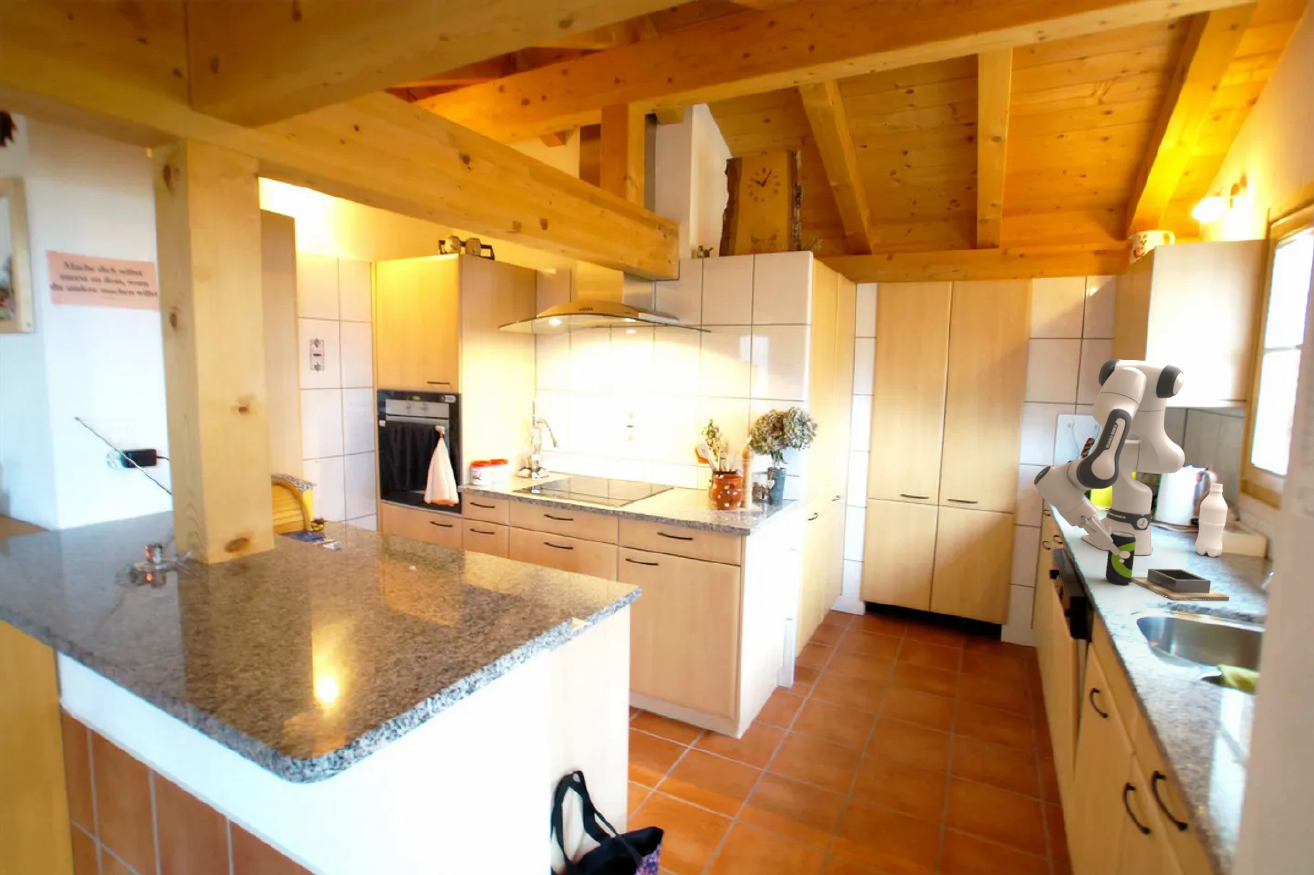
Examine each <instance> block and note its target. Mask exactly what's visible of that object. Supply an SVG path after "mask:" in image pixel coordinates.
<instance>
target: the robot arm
mask: <svg viewBox="0 0 1314 875" xmlns="http://www.w3.org/2000/svg"><path fill="white" fill-rule="evenodd" d="M1184 380H1185V379H1184V372H1183V371H1182V369H1181V368H1180V367H1178V366H1176V365H1171V364H1162V363H1159V362H1155V361H1148V360H1130V359H1127V360H1126V359H1122V358H1115V359H1109V360H1107V361H1106V362H1105V363H1103V365H1102V366H1101V367H1100V370H1099V373H1098V384H1099V385H1100V386H1101V388H1100V390H1099V392H1098V394H1097V397H1096V399H1095V400H1094V403H1093V407H1092V411H1091V416H1092V418H1093V419H1094V420H1095V422H1096V423H1098V424H1099V425H1101V431H1100V434H1099V436H1098V438H1097V440H1096V443H1095V444H1094V445H1093V447H1092V450H1091V453H1090V454H1089V455H1087V456H1086V457H1084V458H1080V459H1079V458H1078V459H1076V460H1073V461H1070V462H1067V463H1063V464H1059V465H1058V464H1057V465H1049V466H1046V467H1044V468H1043V469H1042V470H1040V471H1039V473H1038V474H1037V475H1036V476H1035V478H1034V481H1033V483H1034V487H1035V489H1036V490H1037V492H1038V493H1039V494H1040V495H1041V496H1042V497H1043V498H1044V500H1045V501H1046V502H1047V503H1048V504H1050V505H1051V506H1052V507H1053V508H1055V509H1056V511H1057V512H1058V514H1059V516H1061V517H1062V518H1063V519H1064V521H1066V523H1068V524H1069V525H1070V527H1078V528H1079V529H1083V530H1084V531H1085V532H1086V533H1087V534H1083V535H1081V537H1080V538H1081V540H1084V541H1085V542H1086V543H1089V544H1091V545H1092V546H1094V547H1095V548H1098V549H1100V550H1103V551H1108V550H1110V551H1111V552H1112V553H1113V554H1114V555H1118V554H1120V553H1121V551H1120V550H1119V549H1118V548H1117V547H1116V546H1115V545H1114V544H1113V540H1112V538H1111V536H1110V535H1111V534H1112V531H1122V532H1128V533H1132V534H1134V535H1135V539H1136V543H1135V552H1134V556H1148V555H1152V553H1153V551H1154V546H1152V528H1151V526H1150V524H1151V523H1152V518H1153V516H1152V515H1153V514H1152V512H1151V508H1152V501H1153V491H1152V489H1151V487H1149V486H1148V485H1146V484H1145V483H1142V482H1141V481H1139V480H1137V479H1136V478H1134V477H1133V476H1132V475H1133V473H1135V472H1137V473H1147V474H1156V475H1157V474H1158V475H1161V474H1176V473H1177V472H1179V471H1180V470H1181V469H1182V468H1183V466H1184V464H1185V461H1186V458H1185V457H1186V456H1185V452H1184V450H1183V449H1182V448H1181V447H1180V445H1178V444H1176V443H1174V442H1173V441H1172V440H1171V439H1170V438H1169V437H1168V435H1167V433H1166V430H1165V413H1166V407H1167V402H1168V399H1170V398H1172V397H1174V396H1176V395H1177V394H1179V391H1180V390H1181V389H1182V387H1183V384H1184ZM1129 432H1130V433H1131V434H1132V435H1135V436H1137V437H1139V438H1140V439H1139V440H1137V439H1127V437H1128V435H1129ZM1110 487H1111V494H1112V495H1111V507H1109V508H1107V507H1106V508H1105V512H1107V513H1106V516H1105V517H1103V518H1102V519H1100V518H1099V515H1098V514H1097V512H1098V510H1099V509H1098V507H1097V506H1095V504H1093V502H1091V500H1090V499H1089V498H1088V497H1087V496H1086V495H1085V493H1086V492H1087V491H1091V490H1103V489H1107V488H1110Z"/></svg>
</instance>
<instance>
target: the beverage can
mask: <svg viewBox="0 0 1314 875" xmlns="http://www.w3.org/2000/svg"><path fill="white" fill-rule="evenodd" d="M1110 536H1111V538H1112V540H1113V544H1114V545H1115V546H1116V547H1117V548H1118V549H1119V550H1120V551H1121V553H1120V554H1118V555H1114V554H1113V553H1112V552H1111V551H1110V550H1107V551H1108V552H1107V559H1106V560H1107V562H1106V569H1105V579H1106V580H1107V582H1109V583H1112V584H1115V585H1118V586H1119V585H1120V586H1128V585H1129V584H1131V583H1132V581H1131V578H1132V577H1133V568H1134V561H1135V560H1134V559H1135V555H1134V552H1135V543H1136V539H1135V535H1134V534H1132V533H1128V532H1122V531H1112V534H1111V535H1110Z"/></svg>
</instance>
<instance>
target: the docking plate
mask: <svg viewBox="0 0 1314 875" xmlns="http://www.w3.org/2000/svg"><path fill="white" fill-rule="evenodd" d="M1131 582H1133V583H1135V584H1137V585H1139V584H1140V585H1139V586H1142V587H1144V588H1146V589H1148V590H1150V591H1153V592H1155V593H1157V594H1159V595H1161V596H1163V595H1164V596H1163V597H1165V596H1167V597H1166V598H1168V597H1169V598H1168V599H1170V598H1171V599H1170V600H1172V599H1204V600H1203V601H1230V596H1229V595H1228V596H1227V595H1225V594H1223V593H1221V592H1219V591H1216V590H1214V589H1211V588H1210V592H1209V593H1175V592H1172V591H1170V590H1168V589H1166V588H1163V587H1161V586H1159V585H1157V584H1154V583H1152V582H1150V581H1148V580H1147V576H1132V578H1131ZM1205 599H1206V600H1205ZM1208 599H1209V600H1208Z"/></svg>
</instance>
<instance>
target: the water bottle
mask: <svg viewBox="0 0 1314 875" xmlns="http://www.w3.org/2000/svg"><path fill="white" fill-rule="evenodd" d="M1223 485H1224V484H1222V483H1215V482H1213V483H1210V487H1209V490H1208V491H1209V492H1208V494H1207V495H1206V497H1205V498H1204V499H1203V500H1202V501H1201V502H1200V506H1199V508H1200V509H1199V515H1198V534H1197V537H1196V541H1195V543H1194V547H1195V550H1196V552H1197V554H1199V555H1201V556H1204V555H1206V554H1207V555H1208V557H1210V558H1215V557H1219V556H1220V555H1221V554H1222V551H1223V548H1224V547H1223V533H1224V529H1225V526H1226V522H1227V516H1228V515H1227V514H1228V508H1229V507H1228V505H1227V503H1226V501H1225V499H1224V496H1223V492H1224V489H1223Z"/></svg>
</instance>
